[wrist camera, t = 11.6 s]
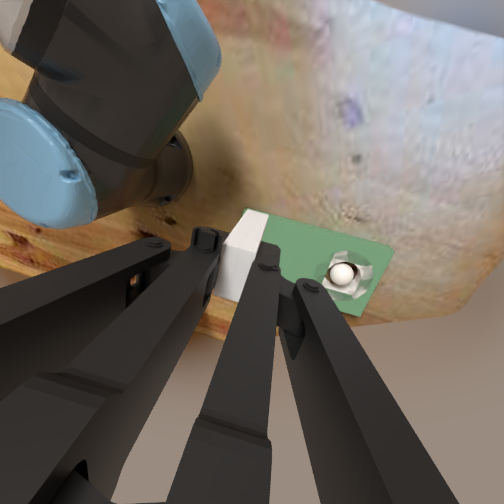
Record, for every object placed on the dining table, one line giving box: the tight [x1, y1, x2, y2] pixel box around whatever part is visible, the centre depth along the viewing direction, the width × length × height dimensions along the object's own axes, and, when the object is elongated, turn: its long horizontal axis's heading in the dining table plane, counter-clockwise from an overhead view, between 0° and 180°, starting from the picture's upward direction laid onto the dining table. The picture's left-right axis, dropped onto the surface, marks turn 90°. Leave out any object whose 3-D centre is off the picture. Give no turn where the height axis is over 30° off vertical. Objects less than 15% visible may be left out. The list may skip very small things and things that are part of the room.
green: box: [242, 208, 395, 317], centre depth 44 cm, size 26×14×2 cm, turn 77°
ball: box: [330, 263, 354, 285], centre depth 43 cm, size 4×4×4 cm
